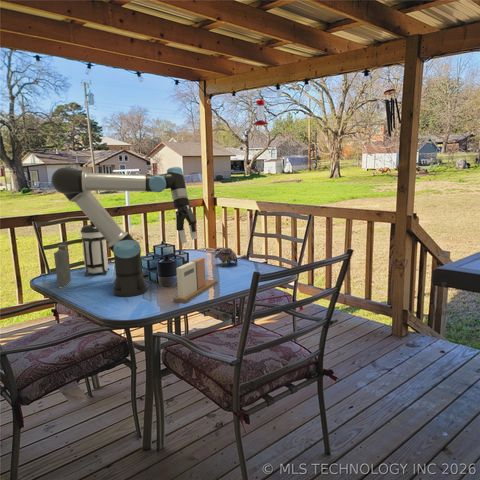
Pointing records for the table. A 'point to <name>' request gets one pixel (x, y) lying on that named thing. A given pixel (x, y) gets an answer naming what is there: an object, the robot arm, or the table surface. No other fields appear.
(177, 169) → the robot arm
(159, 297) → the table surface
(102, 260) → the coffee press
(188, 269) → the ticket holder
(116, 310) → the table surface
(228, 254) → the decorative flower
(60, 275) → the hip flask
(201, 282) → the orange book
